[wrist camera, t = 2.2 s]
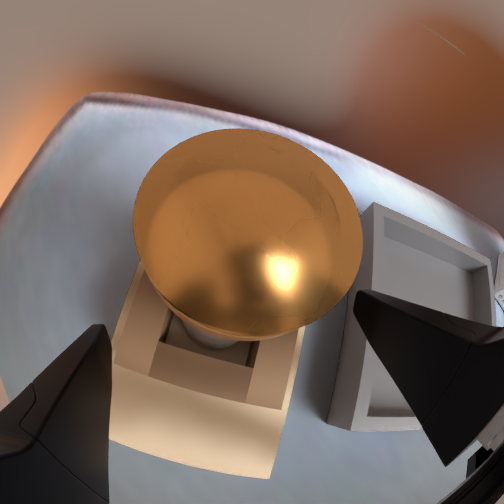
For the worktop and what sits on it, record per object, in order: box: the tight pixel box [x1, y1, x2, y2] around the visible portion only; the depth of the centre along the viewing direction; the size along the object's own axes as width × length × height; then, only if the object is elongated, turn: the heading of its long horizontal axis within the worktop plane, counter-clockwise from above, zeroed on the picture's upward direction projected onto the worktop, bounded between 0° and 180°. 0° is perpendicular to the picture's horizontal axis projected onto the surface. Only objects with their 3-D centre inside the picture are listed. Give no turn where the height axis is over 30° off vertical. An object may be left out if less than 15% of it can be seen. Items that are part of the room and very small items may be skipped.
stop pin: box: [133, 129, 363, 350], centre depth 12 cm, size 5×5×13 cm
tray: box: [326, 202, 496, 431], centre depth 20 cm, size 17×17×4 cm
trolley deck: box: [109, 260, 305, 479], centre depth 17 cm, size 20×12×4 cm, turn 167°
